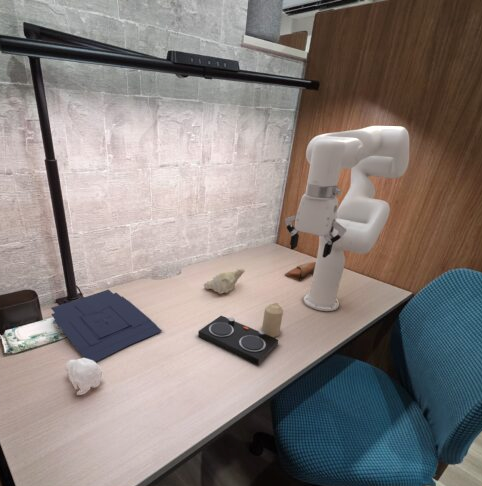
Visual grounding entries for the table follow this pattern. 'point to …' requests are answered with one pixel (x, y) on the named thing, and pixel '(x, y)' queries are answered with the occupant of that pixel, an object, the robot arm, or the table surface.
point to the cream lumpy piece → (224, 281)
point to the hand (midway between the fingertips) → (309, 252)
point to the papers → (102, 324)
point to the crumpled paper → (84, 374)
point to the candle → (272, 319)
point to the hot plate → (239, 339)
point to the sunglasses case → (301, 271)
